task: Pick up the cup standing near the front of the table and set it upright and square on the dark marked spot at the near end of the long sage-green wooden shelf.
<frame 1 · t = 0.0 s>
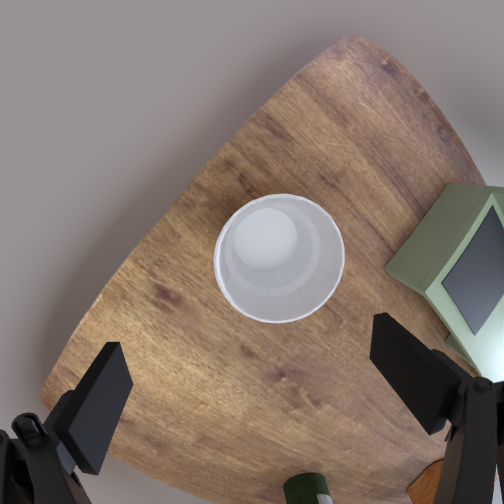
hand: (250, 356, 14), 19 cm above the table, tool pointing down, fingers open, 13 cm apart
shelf: (481, 322, 38), on the table
bread: (446, 470, 50), on the table
wine bottle: (303, 482, 42), on the table
cup: (265, 238, 32), on the table
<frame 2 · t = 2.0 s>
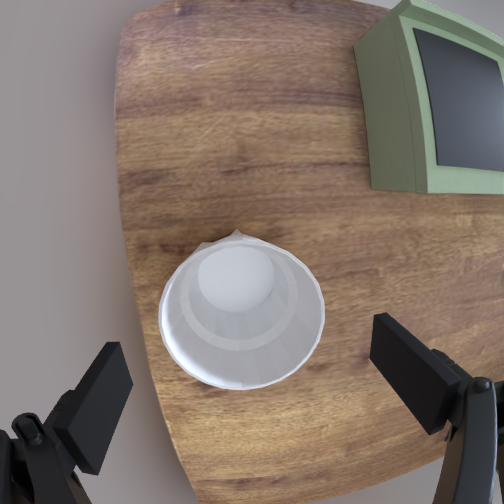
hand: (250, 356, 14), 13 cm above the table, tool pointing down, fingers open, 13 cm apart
cup: (236, 274, 27), on the table
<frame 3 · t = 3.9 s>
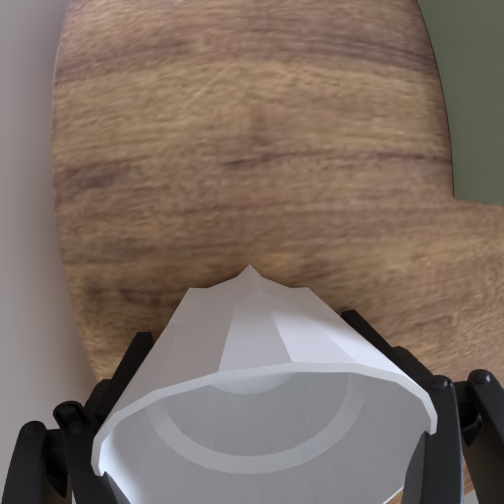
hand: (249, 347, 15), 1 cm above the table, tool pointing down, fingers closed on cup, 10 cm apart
cup: (247, 338, 16), on the table, touching gripper
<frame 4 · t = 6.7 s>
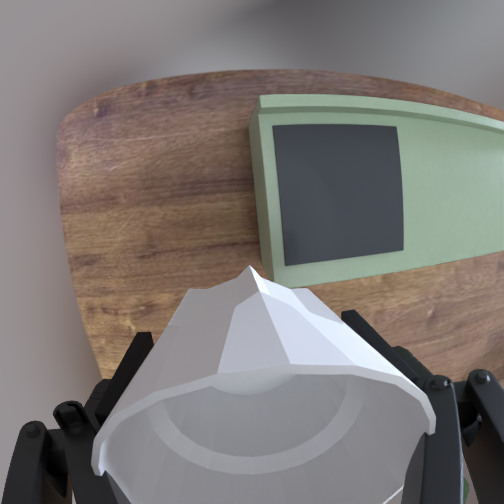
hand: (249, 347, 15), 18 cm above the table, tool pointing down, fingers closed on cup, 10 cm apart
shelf: (439, 184, 33), on the table
cup: (247, 339, 16), point 17 cm above the table, touching gripper
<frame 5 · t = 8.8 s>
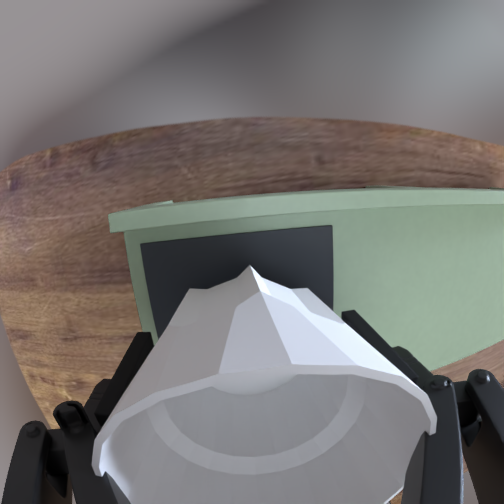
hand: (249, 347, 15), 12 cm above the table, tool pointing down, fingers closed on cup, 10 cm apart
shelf: (413, 258, 28), on the table
cup: (247, 339, 16), point 11 cm above the table, touching gripper
when the fingers open (10 cm above the table, at t = 10.0 s): cup stays where it is, resting on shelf.
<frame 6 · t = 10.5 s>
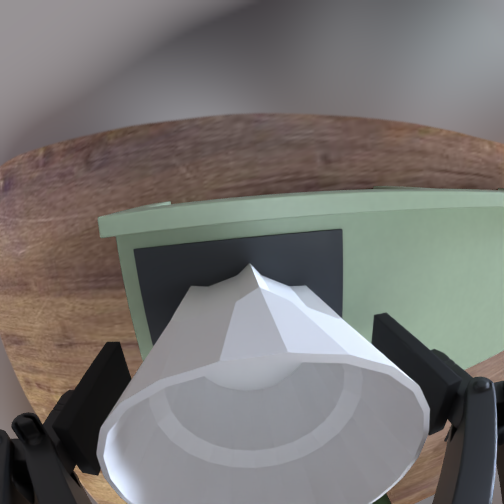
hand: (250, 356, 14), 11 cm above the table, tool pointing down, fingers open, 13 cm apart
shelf: (422, 261, 26), on the table
wine bottle: (362, 495, 36), on the table
cup: (247, 335, 16), point 9 cm above the table, touching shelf
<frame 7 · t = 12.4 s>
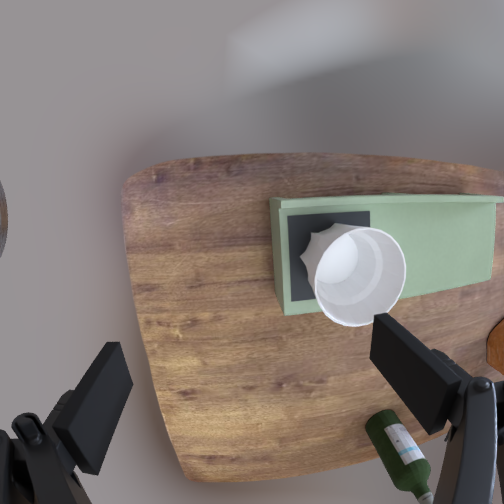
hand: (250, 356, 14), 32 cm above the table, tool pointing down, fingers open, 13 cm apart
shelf: (409, 235, 47), on the table
wine bottle: (380, 420, 56), on the table
cup: (331, 256, 37), point 9 cm above the table, touching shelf
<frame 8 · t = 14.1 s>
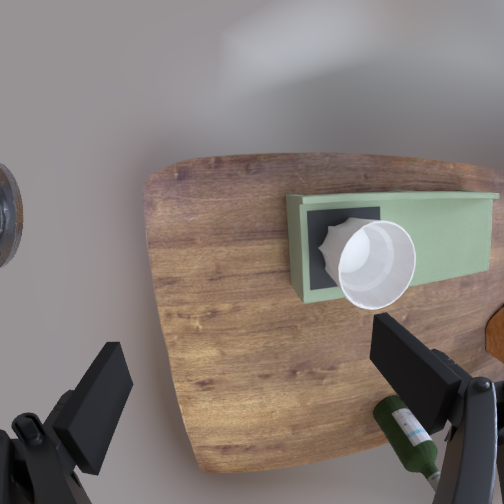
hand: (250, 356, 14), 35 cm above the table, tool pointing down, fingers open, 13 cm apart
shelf: (412, 229, 50), on the table
wine bottle: (386, 407, 60), on the table
cup: (346, 248, 40), point 9 cm above the table, touching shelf
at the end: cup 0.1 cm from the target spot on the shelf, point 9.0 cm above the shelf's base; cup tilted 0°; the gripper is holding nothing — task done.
